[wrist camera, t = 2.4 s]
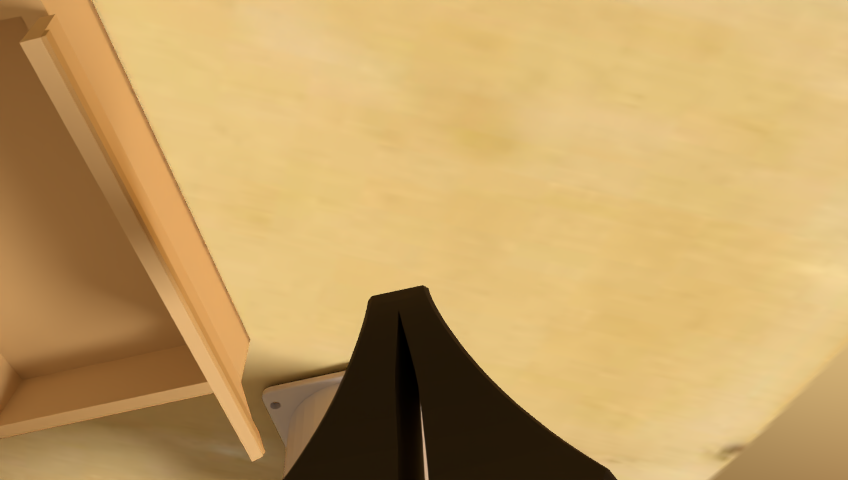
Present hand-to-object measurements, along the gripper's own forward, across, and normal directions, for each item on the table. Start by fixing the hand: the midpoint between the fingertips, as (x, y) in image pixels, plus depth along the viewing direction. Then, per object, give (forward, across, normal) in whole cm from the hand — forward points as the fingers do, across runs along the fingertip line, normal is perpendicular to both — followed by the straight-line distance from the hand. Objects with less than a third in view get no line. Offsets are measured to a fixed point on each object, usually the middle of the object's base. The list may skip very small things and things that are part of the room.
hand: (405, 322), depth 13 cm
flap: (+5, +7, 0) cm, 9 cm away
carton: (+10, +14, 0) cm, 17 cm away
